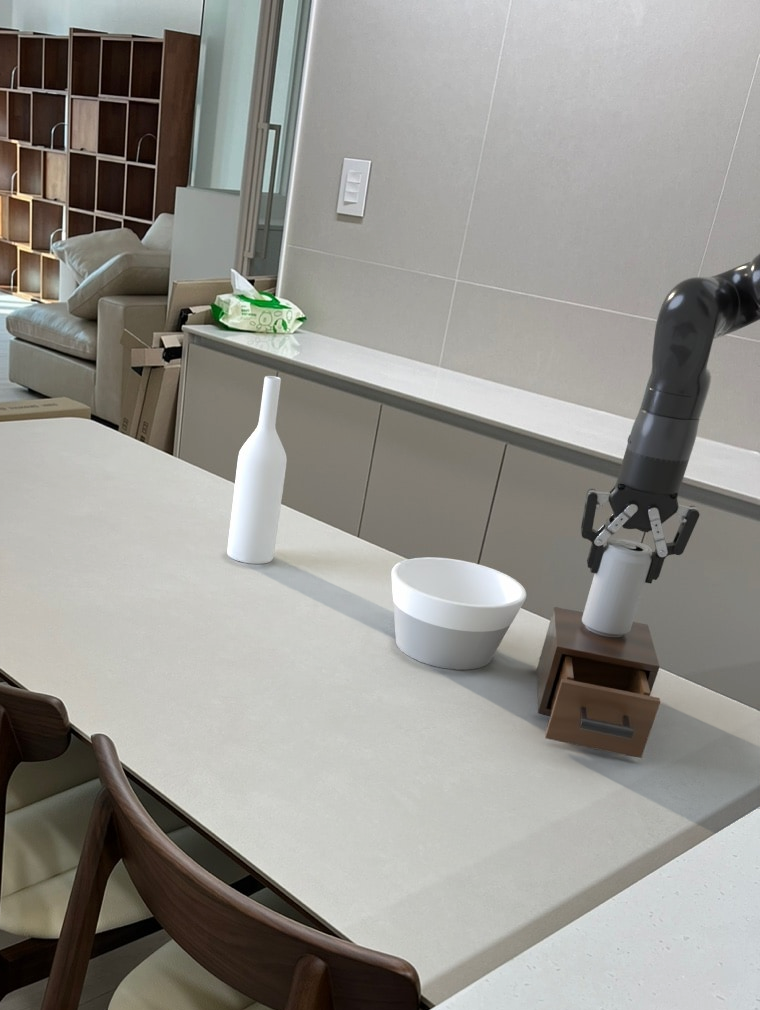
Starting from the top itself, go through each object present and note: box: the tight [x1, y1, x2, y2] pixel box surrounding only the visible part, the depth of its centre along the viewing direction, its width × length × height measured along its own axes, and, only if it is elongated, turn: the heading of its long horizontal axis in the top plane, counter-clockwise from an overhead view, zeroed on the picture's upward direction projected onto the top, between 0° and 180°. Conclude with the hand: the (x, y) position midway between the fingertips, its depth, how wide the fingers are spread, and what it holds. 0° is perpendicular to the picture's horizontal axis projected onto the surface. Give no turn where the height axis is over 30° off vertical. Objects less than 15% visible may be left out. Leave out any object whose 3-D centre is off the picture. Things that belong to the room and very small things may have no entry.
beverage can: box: [582, 538, 653, 637], centre depth 140 cm, size 6×6×12 cm
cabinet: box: [536, 606, 660, 717], centre depth 143 cm, size 15×13×10 cm
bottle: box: [226, 375, 288, 565], centre depth 176 cm, size 8×8×30 cm
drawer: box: [545, 654, 661, 759], centre depth 133 cm, size 18×12×8 cm, turn 165°
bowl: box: [391, 556, 527, 671], centre depth 153 cm, size 19×19×11 cm
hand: (620, 576), depth 139 cm, fingers closed on beverage can, 6 cm apart
